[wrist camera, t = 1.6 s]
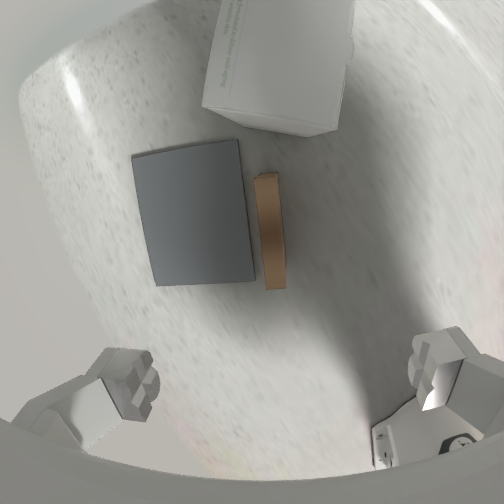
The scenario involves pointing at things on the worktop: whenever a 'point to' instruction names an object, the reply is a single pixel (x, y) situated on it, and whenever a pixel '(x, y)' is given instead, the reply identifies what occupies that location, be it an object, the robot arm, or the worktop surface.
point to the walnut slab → (271, 229)
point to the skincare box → (280, 64)
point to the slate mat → (195, 215)
